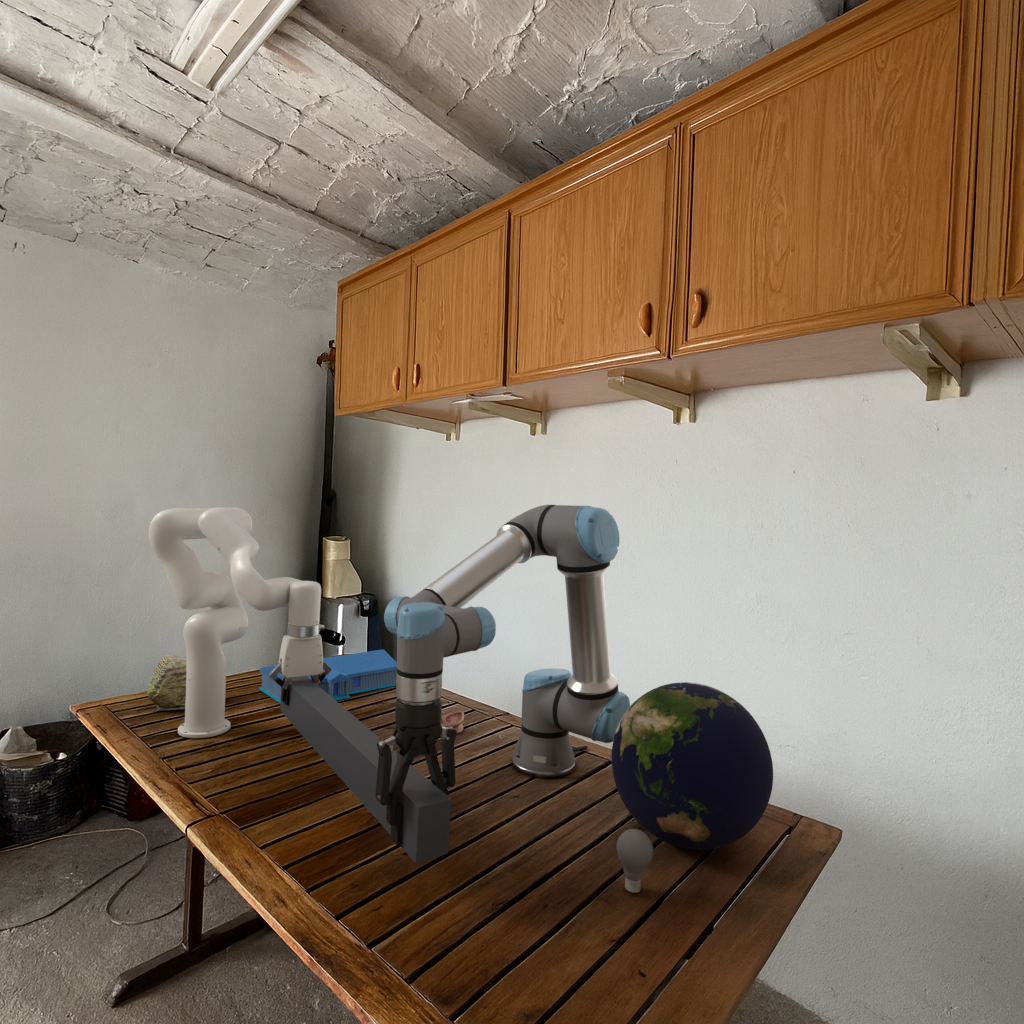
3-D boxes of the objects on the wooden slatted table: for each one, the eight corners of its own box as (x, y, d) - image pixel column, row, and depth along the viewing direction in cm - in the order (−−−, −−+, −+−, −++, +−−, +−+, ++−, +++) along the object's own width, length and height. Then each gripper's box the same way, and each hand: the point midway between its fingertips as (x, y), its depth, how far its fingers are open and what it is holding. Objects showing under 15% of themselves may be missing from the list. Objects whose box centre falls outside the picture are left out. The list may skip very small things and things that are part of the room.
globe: (590, 859, 114) (598, 694, 114) (625, 791, 142) (631, 658, 142) (768, 905, 103) (778, 722, 103) (769, 822, 131) (776, 678, 130)
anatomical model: (409, 718, 171) (423, 705, 182) (408, 733, 171) (423, 719, 182) (456, 724, 168) (468, 710, 180) (455, 739, 168) (467, 724, 180)
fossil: (144, 707, 182) (145, 655, 182) (212, 696, 194) (213, 647, 194) (151, 716, 175) (153, 662, 175) (221, 703, 188) (223, 653, 188)
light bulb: (610, 879, 108) (613, 822, 108) (644, 879, 109) (647, 822, 109) (619, 902, 102) (622, 840, 102) (655, 901, 103) (658, 840, 103)
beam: (279, 710, 163) (281, 676, 163) (302, 707, 166) (304, 673, 166) (415, 863, 98) (418, 807, 98) (448, 853, 101) (451, 799, 101)
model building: (289, 709, 186) (291, 675, 185) (258, 688, 204) (259, 657, 204) (403, 687, 212) (405, 657, 212) (366, 670, 230) (368, 643, 230)
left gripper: (332, 625, 167) (328, 693, 167) (263, 629, 157) (259, 701, 157) (341, 631, 161) (337, 702, 161) (271, 636, 151) (267, 711, 151)
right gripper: (372, 715, 96) (368, 864, 97) (480, 695, 106) (475, 830, 107) (355, 700, 102) (351, 841, 103) (458, 683, 113) (454, 811, 114)
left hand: (299, 701), depth 159 cm, fingers closed on beam, 5 cm apart
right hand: (415, 835), depth 105 cm, fingers closed on beam, 6 cm apart
